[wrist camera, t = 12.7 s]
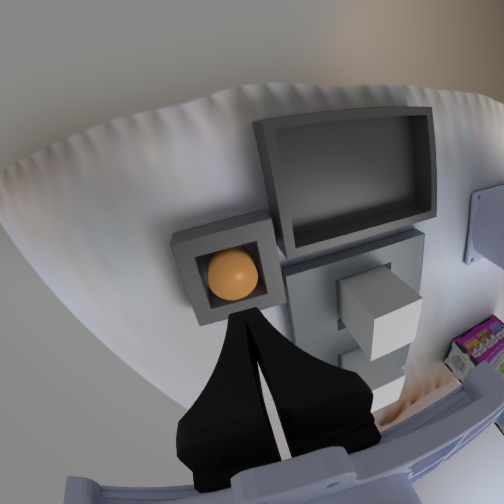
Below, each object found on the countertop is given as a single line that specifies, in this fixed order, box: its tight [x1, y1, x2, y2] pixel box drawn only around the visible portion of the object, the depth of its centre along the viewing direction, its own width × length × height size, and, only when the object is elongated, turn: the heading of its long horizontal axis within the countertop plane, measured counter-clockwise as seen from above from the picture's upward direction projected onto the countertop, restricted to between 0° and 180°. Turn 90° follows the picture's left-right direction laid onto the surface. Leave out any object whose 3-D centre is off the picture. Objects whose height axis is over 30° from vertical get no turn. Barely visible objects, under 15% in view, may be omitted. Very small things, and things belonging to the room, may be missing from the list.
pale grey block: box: [336, 265, 423, 361], centre depth 20 cm, size 4×4×6 cm
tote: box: [253, 107, 437, 260], centre depth 17 cm, size 12×8×2 cm
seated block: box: [338, 347, 406, 413], centre depth 23 cm, size 4×4×6 cm
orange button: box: [207, 245, 258, 300], centre depth 18 cm, size 3×3×2 cm
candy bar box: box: [444, 315, 504, 435], centre depth 24 cm, size 11×5×16 cm, turn 97°
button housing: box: [170, 210, 287, 326], centre depth 18 cm, size 6×6×2 cm
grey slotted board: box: [281, 229, 425, 367], centre depth 24 cm, size 12×16×1 cm
